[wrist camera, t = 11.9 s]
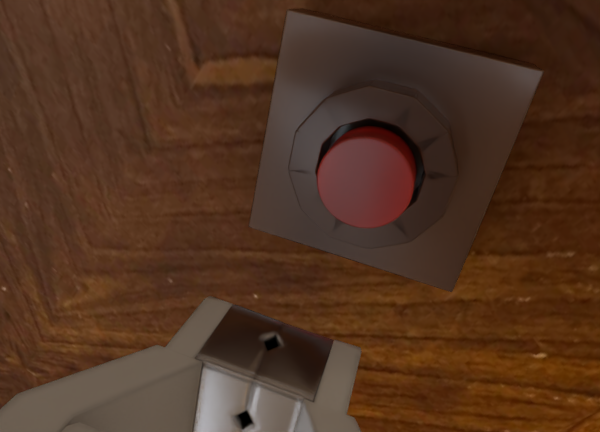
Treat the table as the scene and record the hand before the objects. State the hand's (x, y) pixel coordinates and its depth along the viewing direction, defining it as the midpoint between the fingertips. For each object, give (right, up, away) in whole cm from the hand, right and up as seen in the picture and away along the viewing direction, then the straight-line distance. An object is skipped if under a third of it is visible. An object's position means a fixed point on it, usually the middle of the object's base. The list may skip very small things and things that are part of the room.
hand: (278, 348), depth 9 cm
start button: (+3, +4, +10) cm, 12 cm away
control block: (+4, +6, +14) cm, 15 cm away
